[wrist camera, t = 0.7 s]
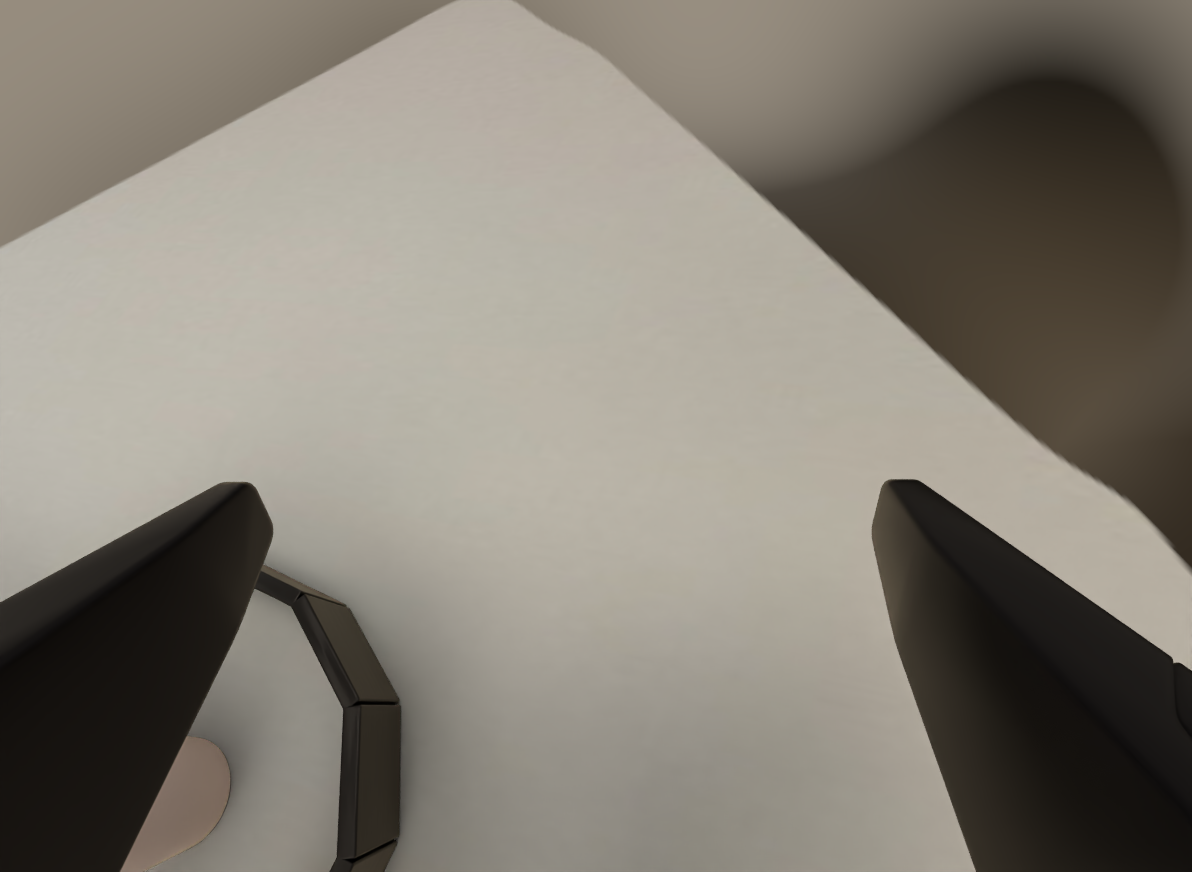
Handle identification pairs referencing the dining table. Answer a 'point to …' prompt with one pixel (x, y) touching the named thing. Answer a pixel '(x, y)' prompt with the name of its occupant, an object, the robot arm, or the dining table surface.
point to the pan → (353, 724)
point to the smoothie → (183, 805)
